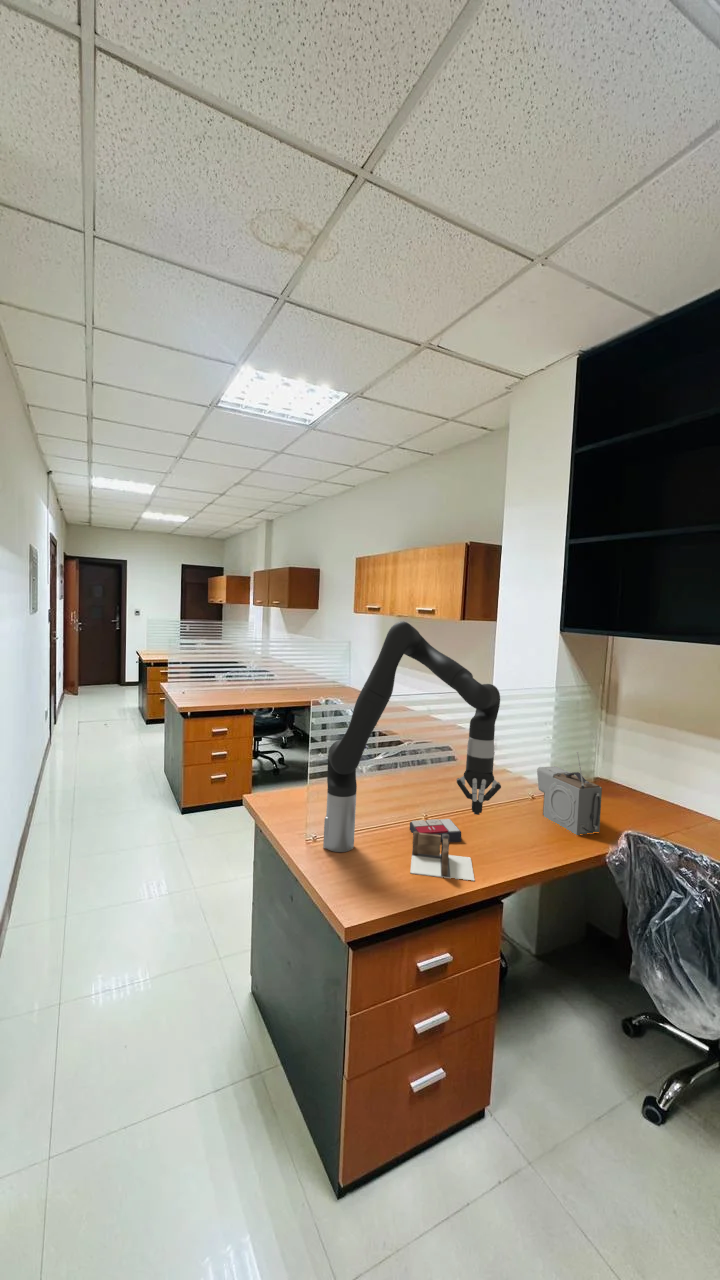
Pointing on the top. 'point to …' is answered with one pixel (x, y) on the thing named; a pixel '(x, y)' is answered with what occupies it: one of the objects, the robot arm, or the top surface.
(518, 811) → the top surface
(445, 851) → the panel
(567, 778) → the portable television
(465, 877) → the card
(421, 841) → the fence fixed section
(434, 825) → the calculator
